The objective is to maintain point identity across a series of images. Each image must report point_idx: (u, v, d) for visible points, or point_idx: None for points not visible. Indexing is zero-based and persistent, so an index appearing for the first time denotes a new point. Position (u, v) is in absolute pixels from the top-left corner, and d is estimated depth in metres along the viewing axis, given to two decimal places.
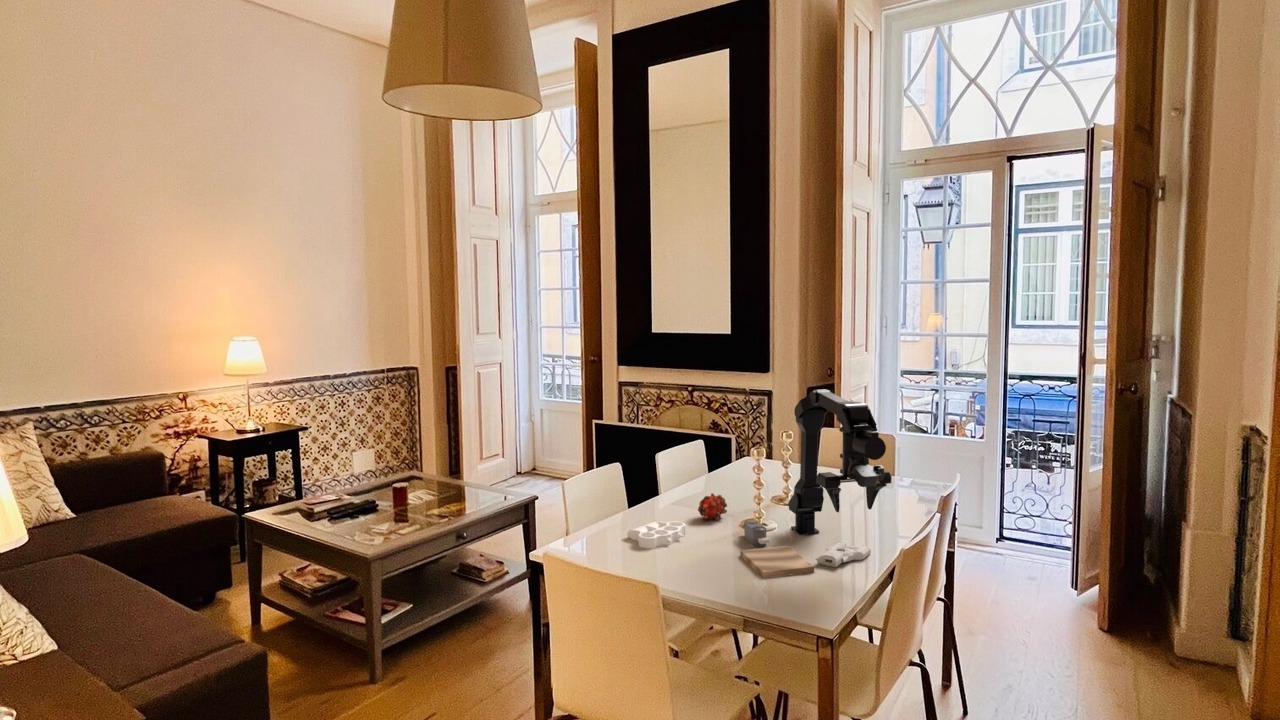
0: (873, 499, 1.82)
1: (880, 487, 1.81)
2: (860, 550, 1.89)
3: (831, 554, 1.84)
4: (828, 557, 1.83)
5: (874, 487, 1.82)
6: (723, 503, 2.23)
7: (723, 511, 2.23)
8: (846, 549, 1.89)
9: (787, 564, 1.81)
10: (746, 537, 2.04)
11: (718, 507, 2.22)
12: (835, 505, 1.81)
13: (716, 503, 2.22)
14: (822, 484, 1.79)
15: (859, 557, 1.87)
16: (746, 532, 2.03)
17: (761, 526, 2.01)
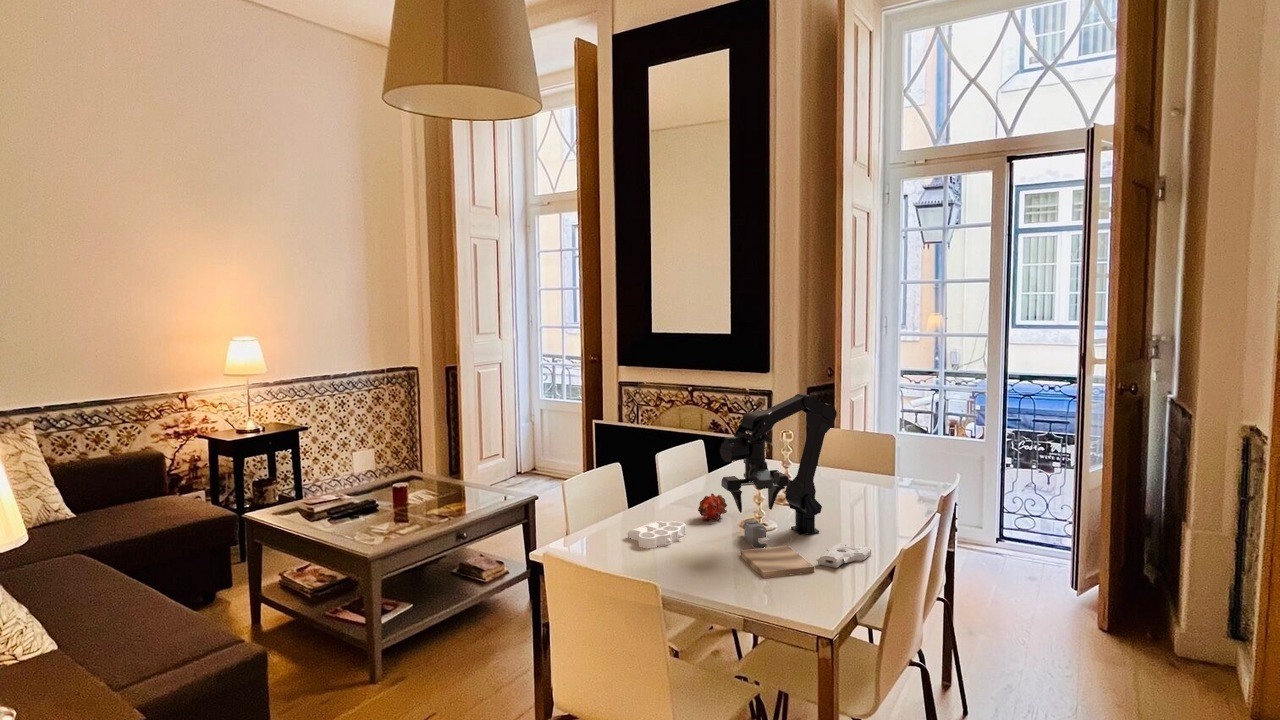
0: (773, 500, 2.02)
1: (779, 489, 2.00)
2: (861, 551, 1.88)
3: (832, 555, 1.83)
4: (829, 558, 1.83)
5: (773, 489, 2.01)
6: (723, 503, 2.23)
7: (723, 511, 2.23)
8: (847, 550, 1.88)
9: (787, 564, 1.81)
10: (746, 537, 2.04)
11: (718, 507, 2.22)
12: (738, 506, 2.00)
13: (716, 503, 2.22)
14: (725, 487, 1.98)
15: (860, 558, 1.86)
16: (746, 532, 2.03)
17: (761, 526, 2.01)
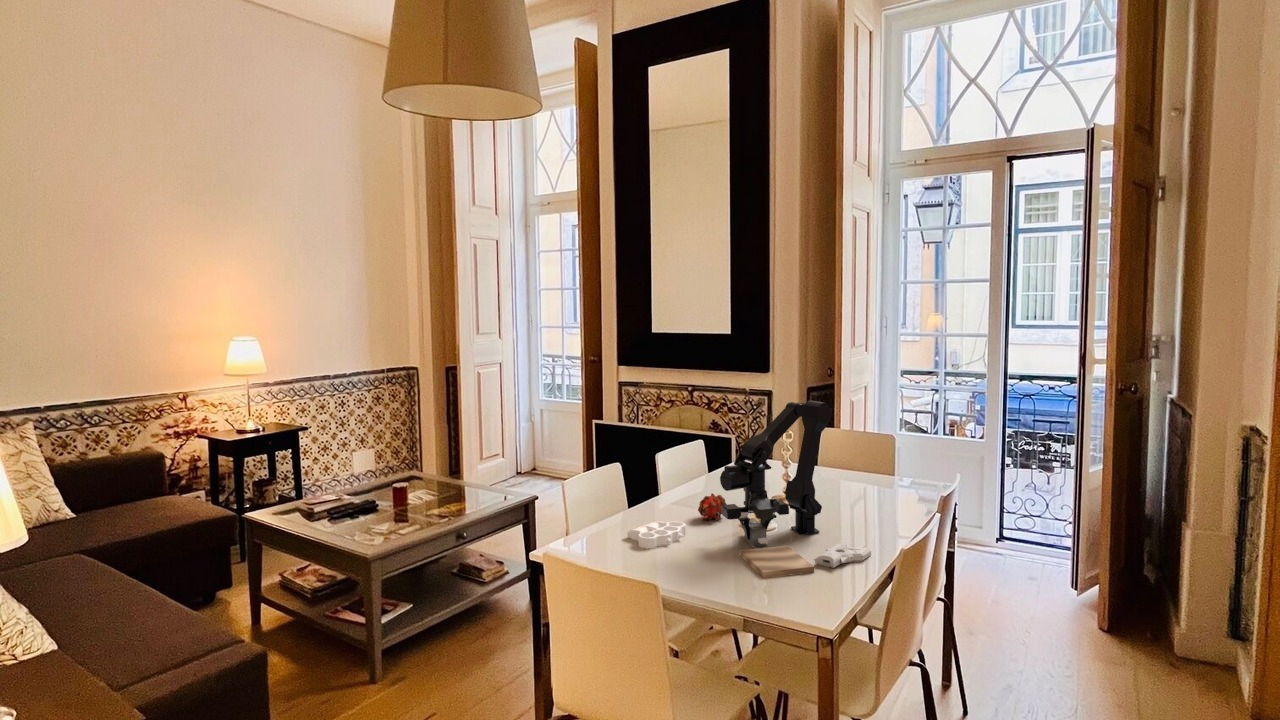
0: None
1: (770, 518, 2.00)
2: (860, 551, 1.88)
3: (829, 555, 1.83)
4: (826, 558, 1.83)
5: (765, 518, 2.01)
6: (723, 503, 2.23)
7: None
8: (846, 550, 1.88)
9: (787, 564, 1.81)
10: (746, 537, 2.04)
11: (718, 507, 2.22)
12: (746, 533, 2.01)
13: (716, 503, 2.22)
14: (725, 515, 1.99)
15: (859, 559, 1.86)
16: None
17: (761, 526, 2.01)
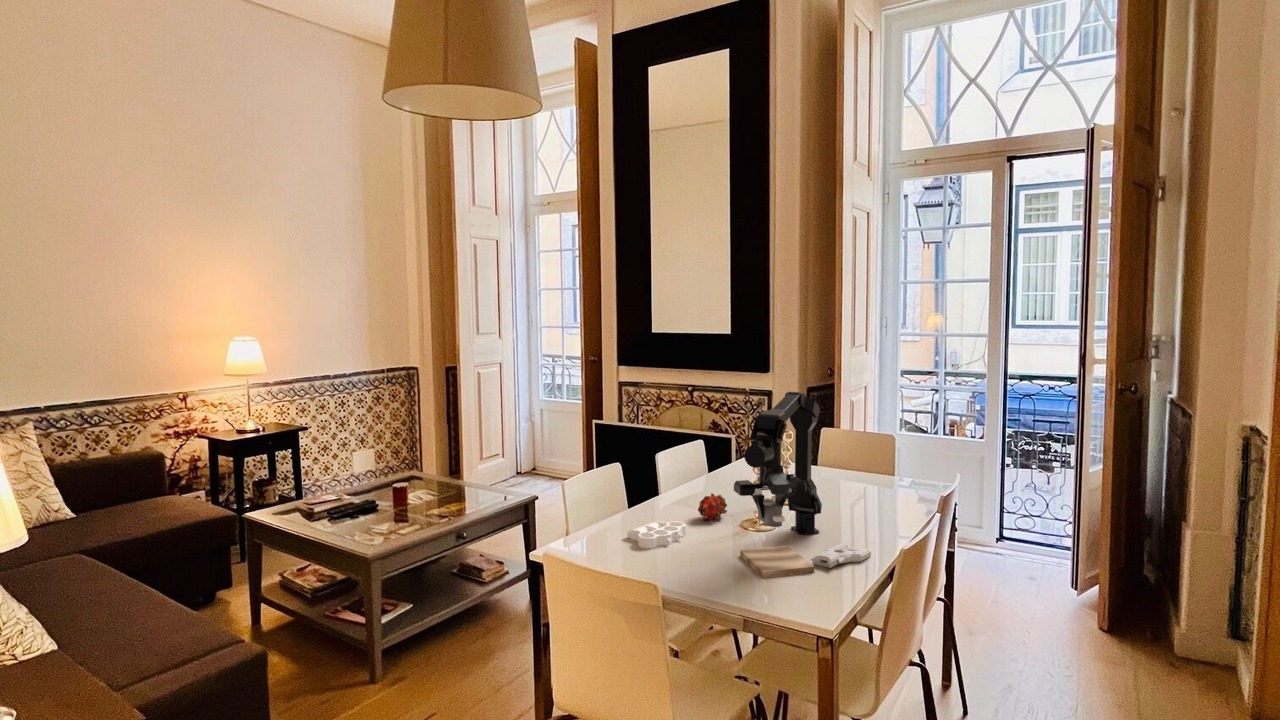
0: None
1: (787, 496, 1.86)
2: (859, 552, 1.87)
3: (827, 555, 1.83)
4: (823, 558, 1.83)
5: (781, 496, 1.87)
6: (723, 503, 2.23)
7: (723, 511, 2.23)
8: (844, 551, 1.88)
9: (787, 564, 1.81)
10: (760, 516, 1.90)
11: (718, 507, 2.22)
12: (760, 511, 1.87)
13: (716, 503, 2.22)
14: (738, 491, 1.85)
15: (857, 559, 1.85)
16: None
17: (776, 504, 1.87)
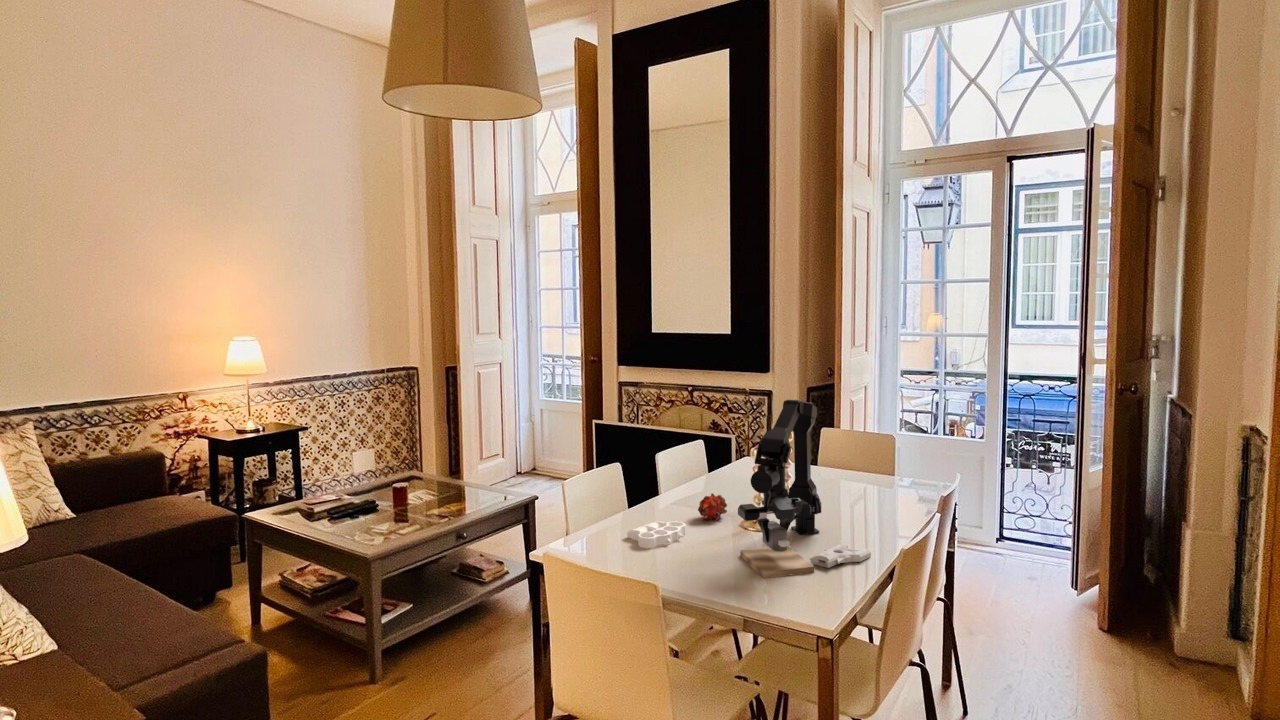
0: None
1: (791, 519, 1.84)
2: (858, 553, 1.87)
3: (825, 555, 1.83)
4: (822, 558, 1.83)
5: (786, 519, 1.85)
6: (723, 503, 2.23)
7: (723, 511, 2.23)
8: (844, 551, 1.88)
9: (787, 564, 1.81)
10: (764, 539, 1.88)
11: (718, 507, 2.22)
12: (764, 535, 1.85)
13: (716, 503, 2.22)
14: (742, 516, 1.83)
15: (856, 560, 1.85)
16: None
17: (781, 528, 1.85)
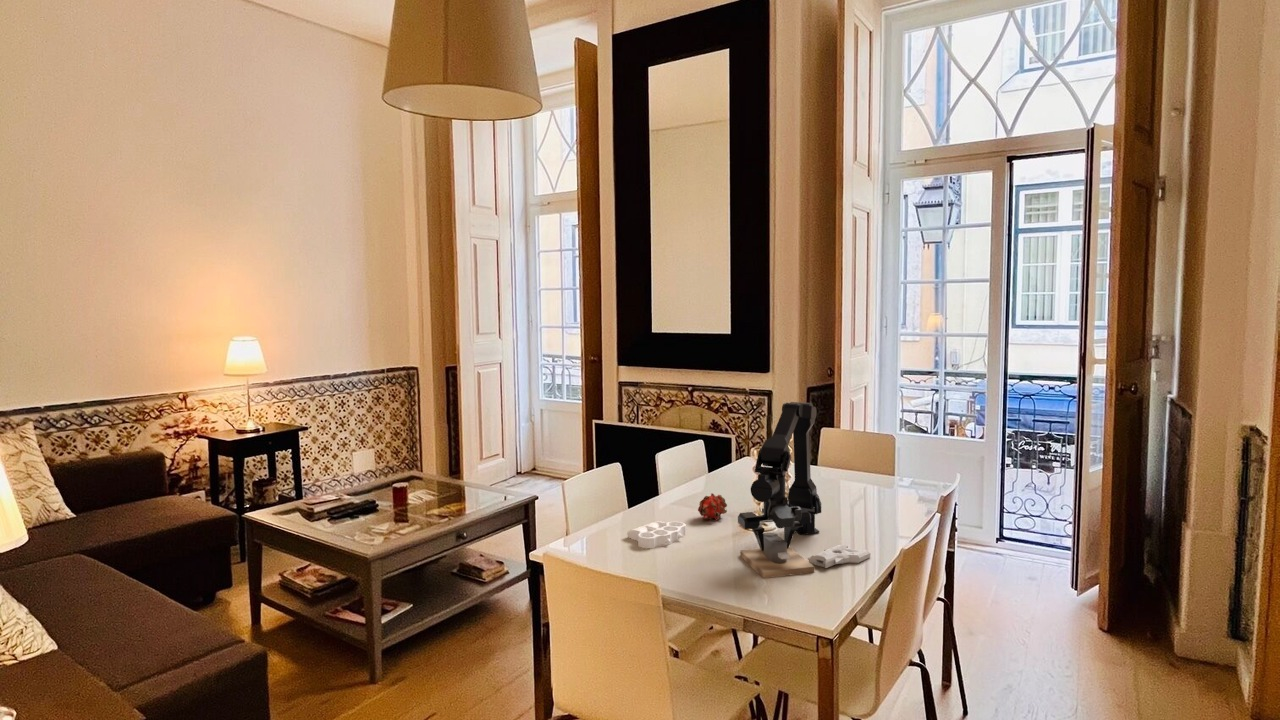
0: (790, 539, 1.86)
1: (796, 527, 1.85)
2: (857, 553, 1.86)
3: (823, 555, 1.83)
4: (820, 558, 1.83)
5: (790, 527, 1.85)
6: (723, 503, 2.23)
7: (723, 511, 2.23)
8: (843, 551, 1.87)
9: (787, 564, 1.81)
10: (764, 551, 1.88)
11: (718, 507, 2.22)
12: (760, 544, 1.85)
13: (716, 503, 2.22)
14: (742, 524, 1.83)
15: (855, 560, 1.85)
16: (765, 546, 1.87)
17: (781, 540, 1.85)
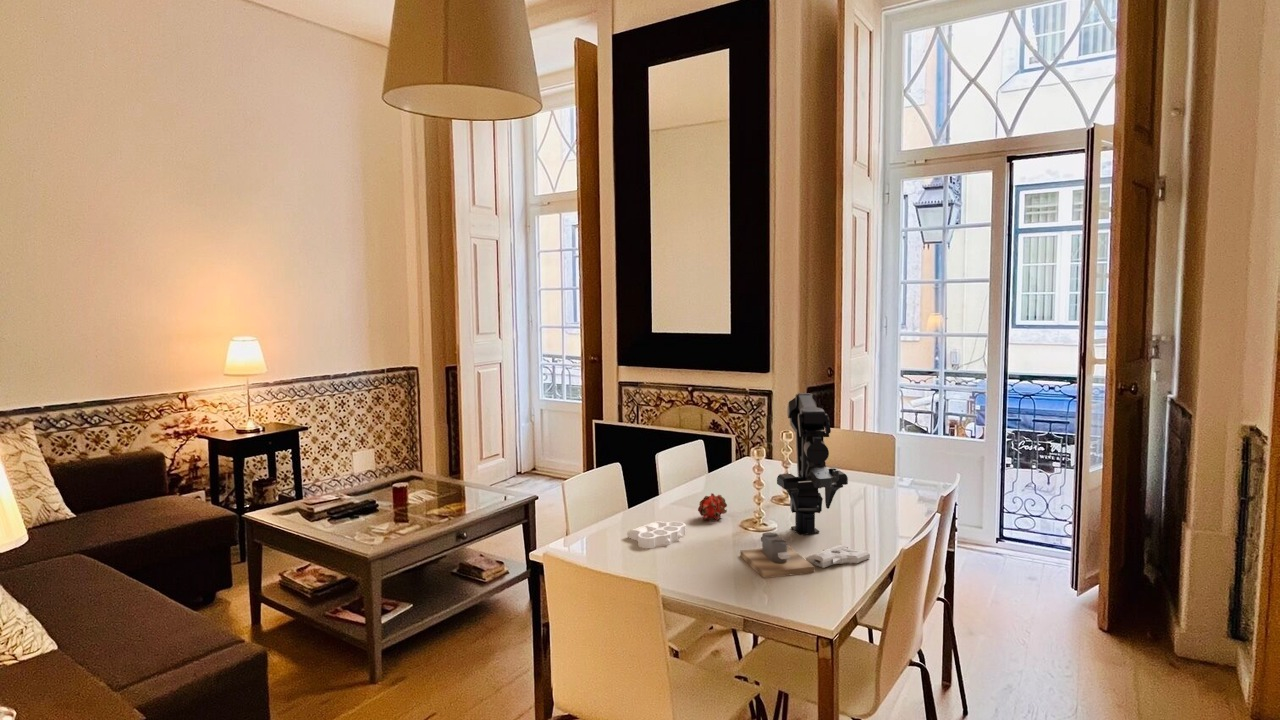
0: (830, 499, 1.94)
1: (837, 488, 1.93)
2: (856, 554, 1.86)
3: (821, 555, 1.84)
4: (817, 557, 1.83)
5: (831, 488, 1.94)
6: (723, 503, 2.23)
7: (723, 511, 2.23)
8: (841, 551, 1.87)
9: (787, 564, 1.81)
10: (764, 551, 1.88)
11: (718, 507, 2.22)
12: (794, 504, 1.93)
13: (716, 503, 2.22)
14: (781, 485, 1.91)
15: (853, 561, 1.84)
16: (765, 546, 1.87)
17: (781, 540, 1.85)
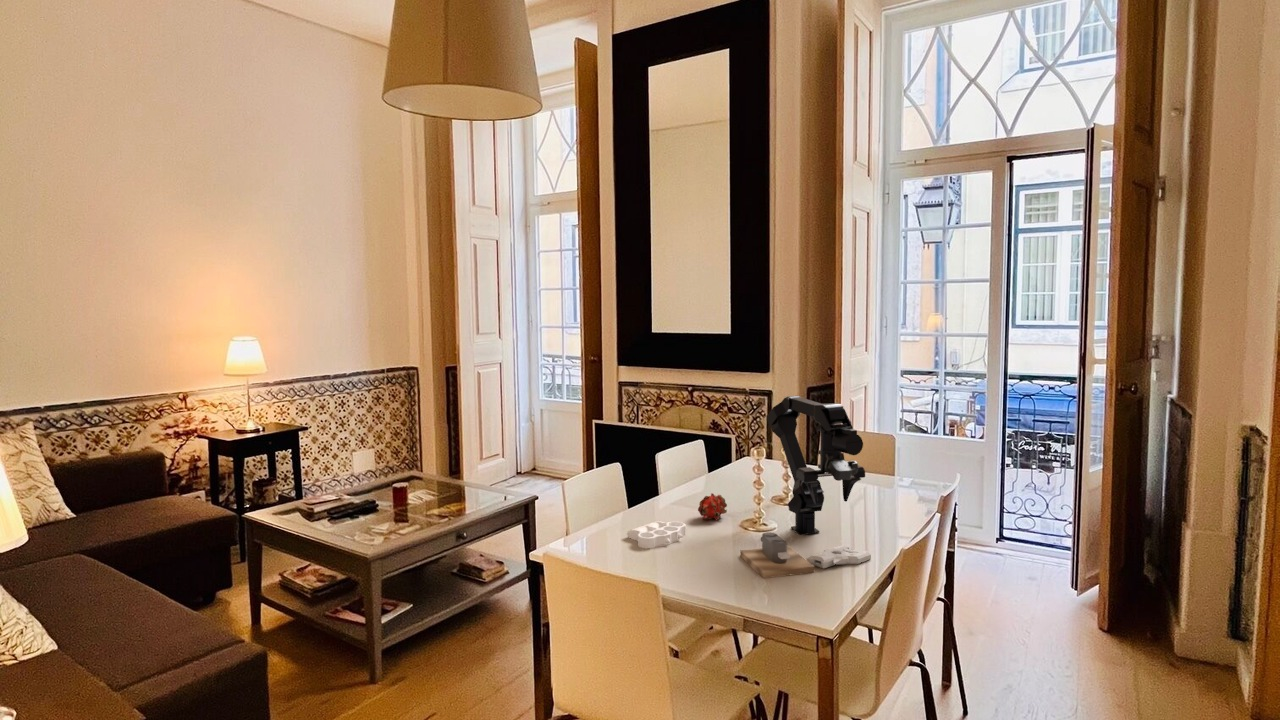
0: (848, 492, 1.99)
1: (855, 481, 1.97)
2: (857, 554, 1.86)
3: (821, 555, 1.83)
4: (818, 558, 1.83)
5: (849, 481, 1.98)
6: (723, 503, 2.23)
7: (723, 511, 2.23)
8: (842, 552, 1.87)
9: (787, 564, 1.81)
10: (764, 551, 1.88)
11: (718, 507, 2.22)
12: (813, 497, 1.97)
13: (716, 503, 2.22)
14: (801, 478, 1.95)
15: (854, 561, 1.84)
16: (765, 546, 1.87)
17: (781, 540, 1.85)
